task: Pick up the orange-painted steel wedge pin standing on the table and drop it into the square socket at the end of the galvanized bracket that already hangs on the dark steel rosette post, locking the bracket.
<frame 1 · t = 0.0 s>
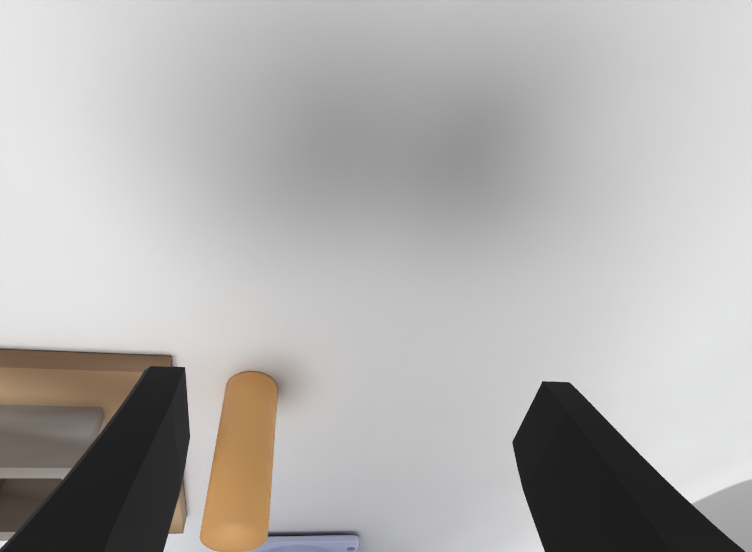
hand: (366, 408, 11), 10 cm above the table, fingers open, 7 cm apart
rosette bracket: (6, 445, 25), on the table
wedge pin: (251, 389, 24), on the table
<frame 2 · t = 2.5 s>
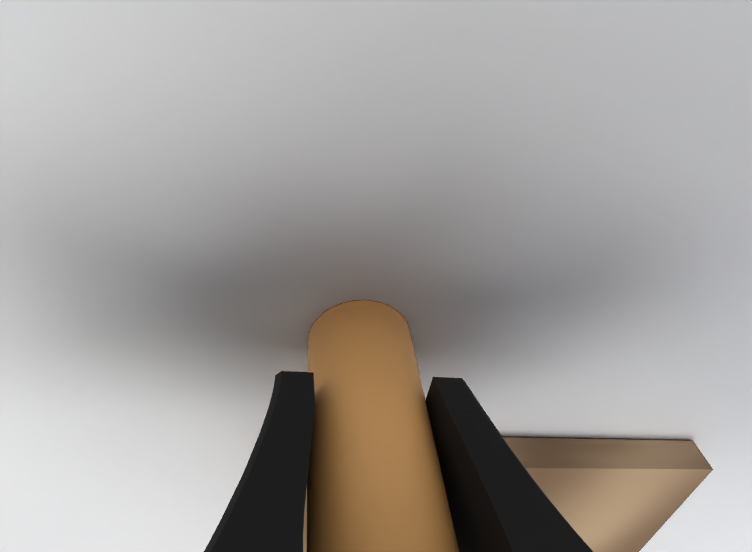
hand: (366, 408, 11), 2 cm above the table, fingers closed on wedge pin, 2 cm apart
wedge pin: (359, 340, 12), on the table, touching gripper
when the fingers open (4 cm above the table, at t = 5.6 s): wedge pin drops 1 cm, resting on rosette bracket.
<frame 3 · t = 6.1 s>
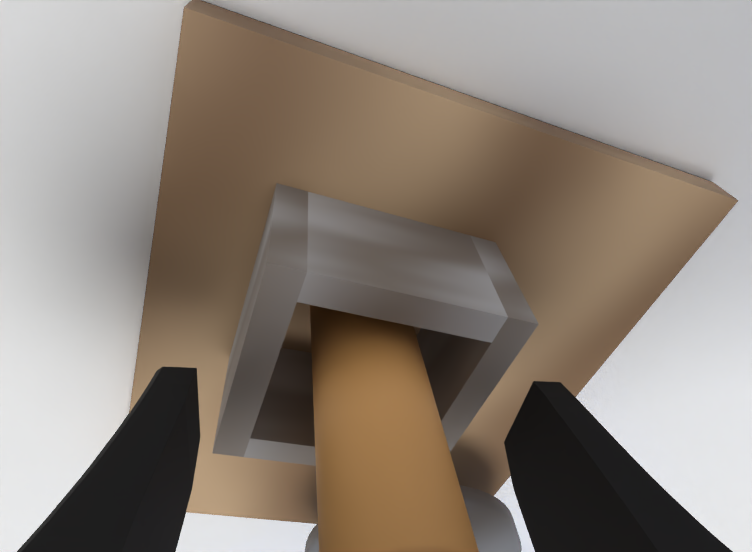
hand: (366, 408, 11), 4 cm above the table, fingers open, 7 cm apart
rosette bracket: (373, 353, 16), on the table
wedge pin: (357, 300, 13), point 1 cm above the table, touching rosette bracket
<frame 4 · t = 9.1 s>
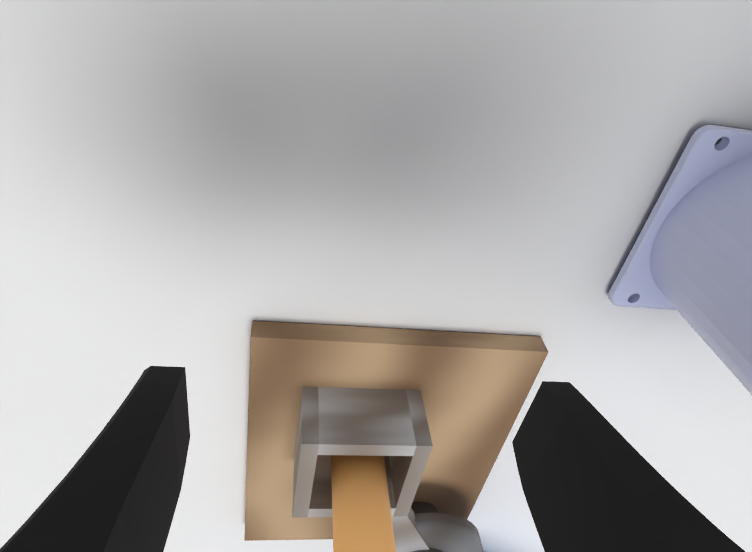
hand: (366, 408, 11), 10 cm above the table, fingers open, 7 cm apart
rosette bracket: (374, 441, 27), on the table
wedge pin: (354, 425, 25), point 1 cm above the table, touching rosette bracket
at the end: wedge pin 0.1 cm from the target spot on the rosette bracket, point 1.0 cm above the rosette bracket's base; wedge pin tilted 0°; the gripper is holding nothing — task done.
